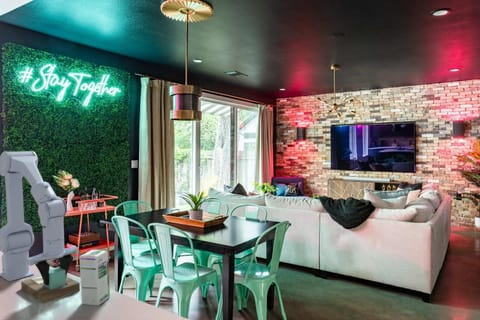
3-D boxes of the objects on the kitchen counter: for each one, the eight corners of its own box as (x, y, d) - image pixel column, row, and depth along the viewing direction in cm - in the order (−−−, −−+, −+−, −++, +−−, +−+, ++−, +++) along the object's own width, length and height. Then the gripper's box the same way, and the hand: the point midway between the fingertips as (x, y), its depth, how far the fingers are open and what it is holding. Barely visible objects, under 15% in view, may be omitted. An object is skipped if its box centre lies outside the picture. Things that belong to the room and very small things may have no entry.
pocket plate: (21, 288, 114) (21, 280, 114) (56, 278, 122) (56, 270, 122) (42, 303, 104) (42, 294, 103) (79, 290, 112) (79, 282, 112)
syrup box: (99, 306, 102) (97, 256, 101) (80, 304, 103) (79, 254, 102) (110, 297, 107) (108, 250, 107) (92, 295, 109) (91, 248, 108)
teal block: (44, 293, 110) (43, 271, 110) (59, 288, 114) (58, 266, 113) (51, 297, 108) (50, 274, 107) (66, 292, 111) (65, 270, 111)
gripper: (33, 246, 102) (35, 293, 102) (82, 235, 113) (84, 277, 114) (23, 242, 106) (25, 286, 107) (72, 232, 117) (73, 272, 118)
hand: (55, 281), depth 111 cm, fingers closed on teal block, 4 cm apart
